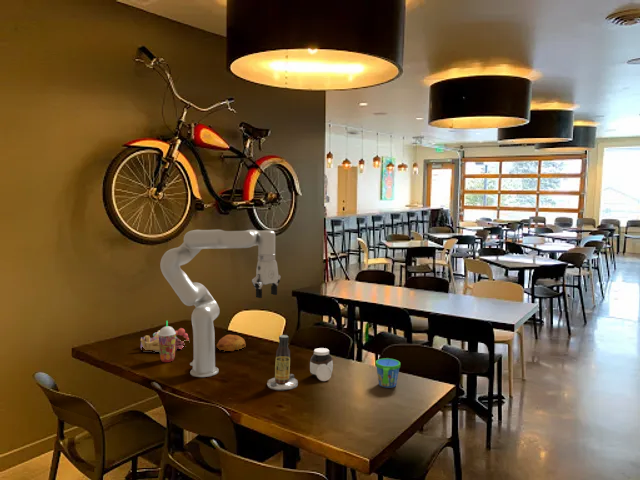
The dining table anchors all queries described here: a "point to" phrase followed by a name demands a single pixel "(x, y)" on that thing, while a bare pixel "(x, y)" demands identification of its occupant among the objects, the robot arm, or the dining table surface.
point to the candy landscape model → (155, 343)
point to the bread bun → (231, 343)
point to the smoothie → (167, 343)
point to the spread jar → (321, 364)
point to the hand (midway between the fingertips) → (266, 296)
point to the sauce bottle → (282, 361)
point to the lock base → (285, 386)
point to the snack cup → (387, 372)
